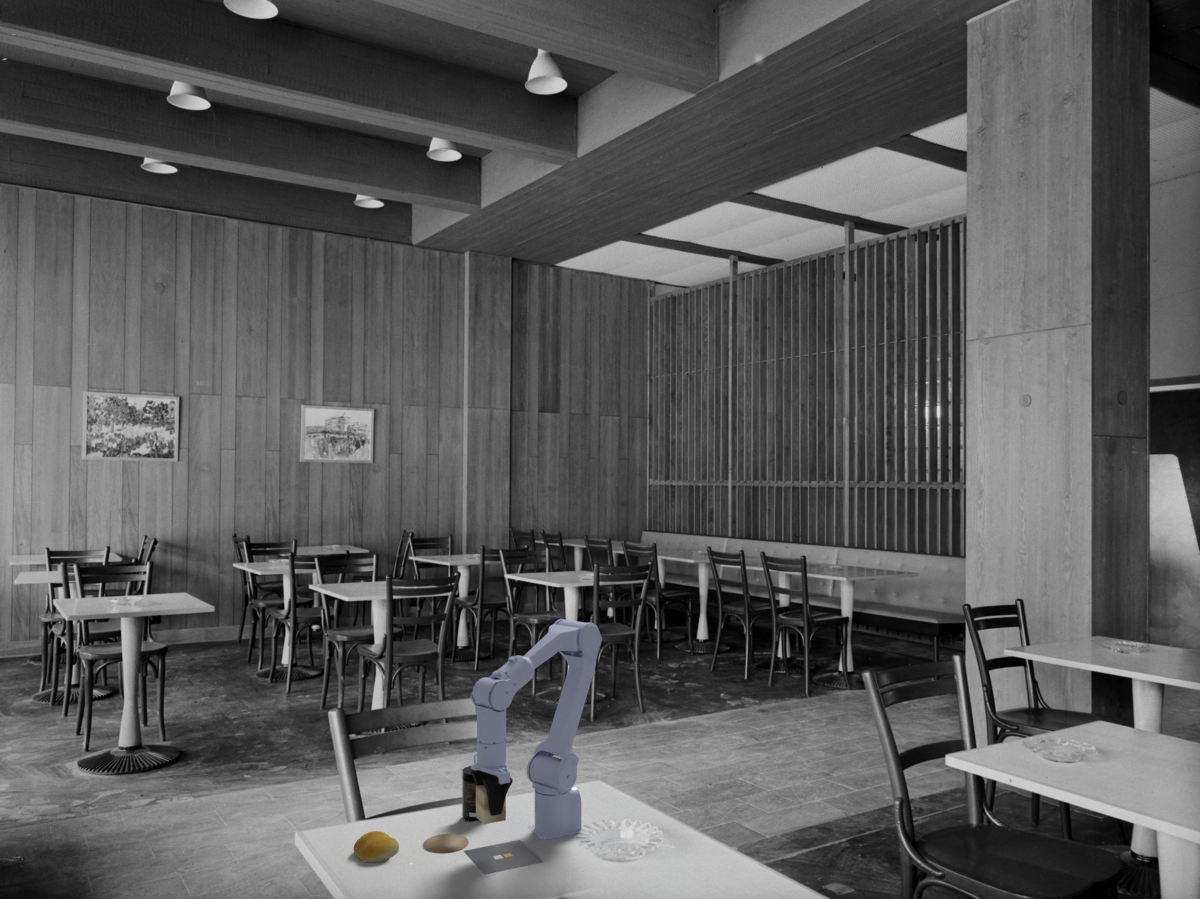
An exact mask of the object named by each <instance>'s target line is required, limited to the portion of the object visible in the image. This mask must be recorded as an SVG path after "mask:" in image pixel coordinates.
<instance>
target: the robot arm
mask: <svg viewBox="0 0 1200 899" xmlns="http://www.w3.org/2000/svg"><path fill="white" fill-rule="evenodd" d="M602 640H603V637H602V634H601V632H600V629H599V627H598V625H597V624H595V623H593V622H584V621H575V620H570V619H565V618H559V619H557V620H556V621H555V622H554V623H553V624H551V625H550V626H549V627H548V630H547V633H546V634H545V635H544V636H543V637H541V639H540V640H539V641H538V642H537V643H536V644H534V646H533V647H531V649H529V650H528V651H527V652H526V653H525V654H524V655H520V654H519V655H512V656H510V657H509V658H507V660H508V661H506V663H504V664H503V665H502V666H501V667H500V668H498V669H497V670H495V671H493V672H492V673H491V675H490V676H488V677H486V676H485V677H481V678H480V679H478V681H476V682H475V684H474V685H473V687H472V692H470V694H469V695H470V700H471V703H473V706H474V711H475V712H474V713H475V714H476V753H473V763H471V765H470V766H471V769H473V770H471V774H472V776H473V778H474V780H475V783H476V786H479V785H484V786H485V788H486V792H487V796H488V803H489V810H490V814H491V816H494V815H499V814H501V813H502V810H503V806H504V801H505V798H506V799H507V794H508V792H509V790H510V787H511V786H512V784H513V781H514V780H513V778H512V777H511V771H509V769H508V768H509V767H508V762H507V709H508V708H509V707H510V705H511V704H512V702H513V698H514V696H515V695H516V693H517V692H518V691H519V690H521V688H523V687H524V686H525V685H526V684H527V683H528V682H530V681H531V680H532V679H533V678H534V675H535V669H537V668H538V667H540V666H541V665H542V664H544V663H545V662H546V661H548V660H550V659H551V657H553V656H555V655H556V654H557V653H559V654H561V656H562V657H563V658H564V659H565V661H566V662H567V664H568V670H567V672H566V673H567V674H566V677H565V680H564V683H563V687H562V690H561V694H560V697H559V700H558V703H557V706H556V710H555V712H554V716H553V719H552V722H551V726H550V729H549V733H548V736H547V738H546V739H545V740H543V741H542V742H540V743H539V744H537V745H536V748H535V750H534V753H533V754H532V756H531V757H530V759H529V761H528V763H527V766H526V777H527V779H528V780H529V781H530V783H532V786H531V787H532V788H533V789H534V824H533V825H528V826H527V828H528V829H529V830H530V831H531V832H532V833H533V834H534V835H536V836H537V837H538V838H539V839H540V840H547V839H553V838H557V837H562V836H569V835H573V834H574V835H575V834H579V833H583V829H582V796H581V793H580V790H579V788H578V787H577V786H575V784H576V782H577V777H578V763H579V760H580V758H579V756H578V753H577V752H576V751H575V749H574V747H573V745H574V741H575V737H576V735H577V734H576V733H577V731H578V727H579V723H580V720H581V718H582V713H583V710H584V706H585V703H586V700H587V697H588V693H589V689H590V687H591V683H592V679H593V677H594V676H593V675H594V671H595V669H596V665H597V658H598V654H599V652H600V648H601V644H602ZM555 756H557V757H555ZM558 757H560V758H558Z"/></svg>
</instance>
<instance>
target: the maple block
mask: <svg viewBox="0 0 1200 899" xmlns="http://www.w3.org/2000/svg"><path fill="white" fill-rule="evenodd" d="M506 799H507V797H506V798H505V801H504V806H503V810H502V813H501V814H499V815H494V816H491V814H490V810H489V803H488V796H487V792H486V788H485V786H484V785H479V786H476V817H477V818H478V819H479V820H480V821H479V822H481V823H482V824H483V825H488V824H494V823H498V822H504V821H507V816H506V815H507V814H506V813H507V811H506V810H507V805H506V804H507V803H506V802H507V800H506Z"/></svg>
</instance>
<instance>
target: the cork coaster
mask: <svg viewBox="0 0 1200 899" xmlns="http://www.w3.org/2000/svg"><path fill="white" fill-rule="evenodd" d="M469 842H470V840H469V839H468V838H467V837H466V836H464V835H461V834H457V833H456V834H455V833H445V834H437V835H433V836H431V837H429V838H427V839H425V840H424V841H423V844H422V846H423V849H424V850H426V851H428V852H430V853H435V854H450V853H456V852H460V851H461V850H464V849H465V848H467V847H468V846H469Z"/></svg>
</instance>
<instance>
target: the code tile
mask: <svg viewBox="0 0 1200 899" xmlns="http://www.w3.org/2000/svg"><path fill="white" fill-rule="evenodd" d="M463 852H464V853H465V854H466V856H467V857H468V858H469V859H470V861H472V862H473V863H474V864H475V866H476V867H477V868H478V869H479V870H480V871H481V872H482V873H483V874H484V875H490V874H495V873H499V872H502V871H507V870H512V869H517V868H523V867H526V866H532V865H536V864H541V863H544V862H545V861H544V860H542V859H541V858H540V857H539V856H538V855H537V854H536V853H535V852H534V851H533V850H532V849H531V848H530V847H528V846H527V845H526V843H524V842H523V841H522V840H521V839H517V840H512V841H507V842H503V843H497V844H492V845H487V846H482V847H476V848H472V849H471V848H470V849H466V850H463Z"/></svg>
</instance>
